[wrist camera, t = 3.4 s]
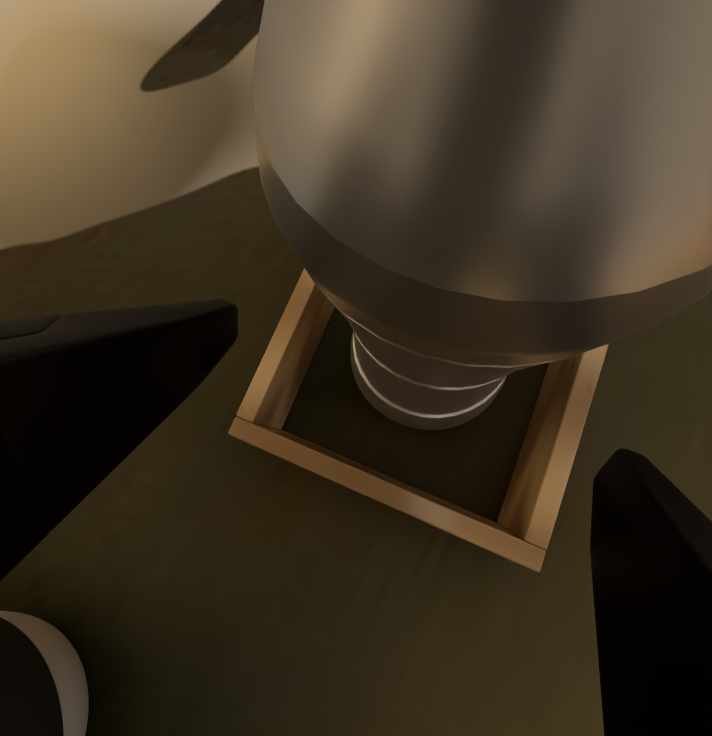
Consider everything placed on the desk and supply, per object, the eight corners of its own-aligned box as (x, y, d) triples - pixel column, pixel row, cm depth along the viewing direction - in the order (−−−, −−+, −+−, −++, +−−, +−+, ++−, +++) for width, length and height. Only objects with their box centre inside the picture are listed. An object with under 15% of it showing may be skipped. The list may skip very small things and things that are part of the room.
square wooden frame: (508, 547, 17) (540, 573, 13) (261, 438, 19) (226, 433, 16) (587, 298, 19) (635, 258, 15) (356, 227, 22) (346, 176, 18)
